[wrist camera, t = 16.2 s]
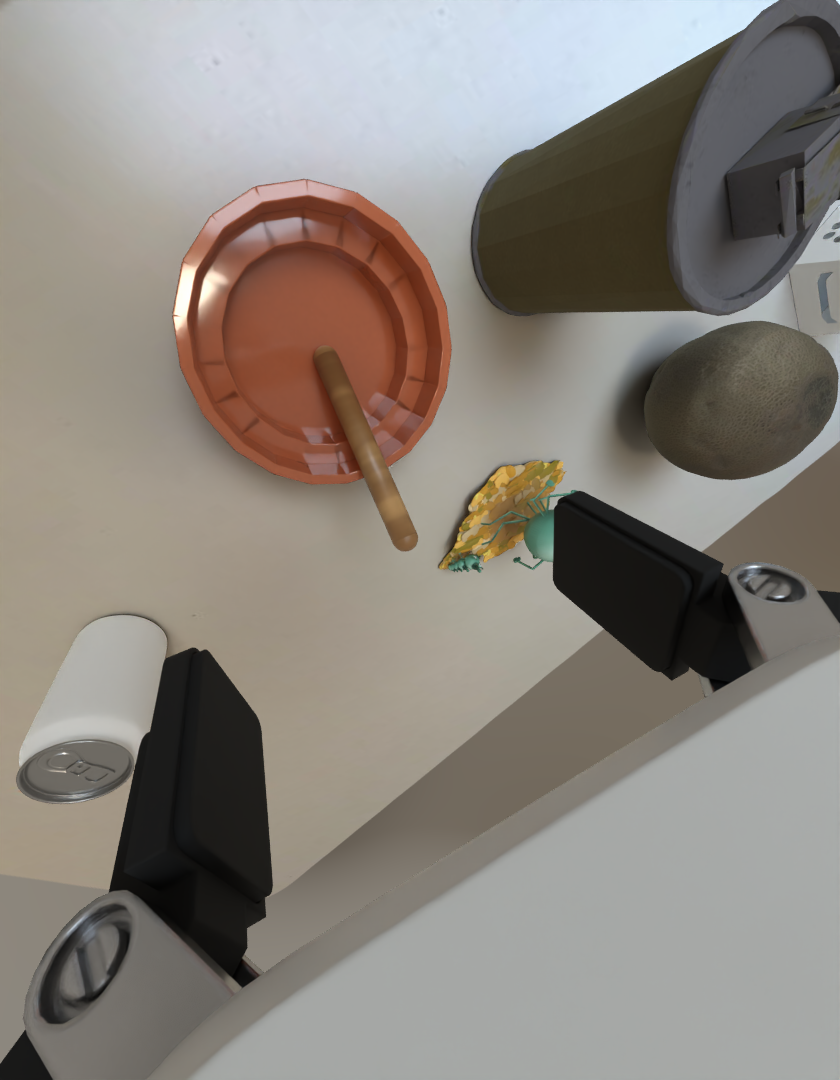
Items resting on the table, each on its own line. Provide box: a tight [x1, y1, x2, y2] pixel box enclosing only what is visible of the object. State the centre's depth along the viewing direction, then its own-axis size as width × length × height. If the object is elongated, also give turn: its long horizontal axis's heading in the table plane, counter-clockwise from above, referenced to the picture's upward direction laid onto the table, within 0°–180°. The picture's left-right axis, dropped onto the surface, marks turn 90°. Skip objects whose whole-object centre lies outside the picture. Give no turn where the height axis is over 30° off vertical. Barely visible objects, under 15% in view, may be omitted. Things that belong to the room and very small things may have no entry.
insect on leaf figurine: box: [439, 460, 576, 573], centre depth 37 cm, size 10×18×15 cm, turn 116°
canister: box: [472, 0, 840, 316], centre depth 23 cm, size 11×10×20 cm
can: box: [16, 615, 167, 804], centre depth 29 cm, size 6×6×12 cm
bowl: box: [172, 179, 452, 484], centre depth 26 cm, size 16×16×6 cm
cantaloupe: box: [644, 321, 838, 480], centre depth 37 cm, size 14×14×15 cm
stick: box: [313, 345, 418, 551], centre depth 28 cm, size 2×2×16 cm
